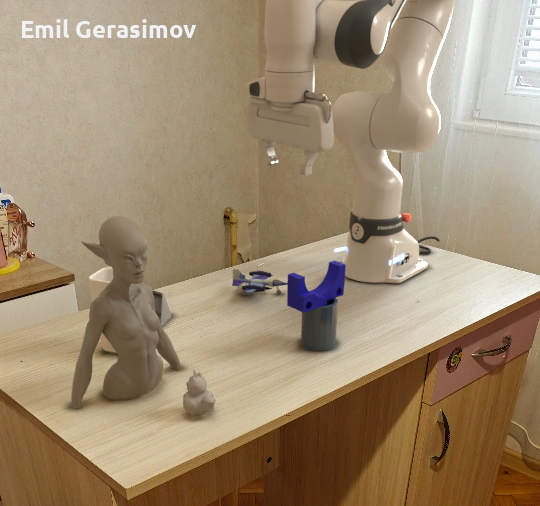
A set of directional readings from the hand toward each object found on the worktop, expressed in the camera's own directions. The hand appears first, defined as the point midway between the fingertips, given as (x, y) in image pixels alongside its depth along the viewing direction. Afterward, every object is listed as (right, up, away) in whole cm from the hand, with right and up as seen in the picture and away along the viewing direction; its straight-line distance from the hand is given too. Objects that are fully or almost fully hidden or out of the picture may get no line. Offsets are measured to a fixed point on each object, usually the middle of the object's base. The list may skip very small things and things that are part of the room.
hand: (289, 170), depth 137 cm
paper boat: (-29, -24, +17) cm, 42 cm away
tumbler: (+6, -32, +6) cm, 33 cm away
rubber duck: (-15, -48, -16) cm, 53 cm away
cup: (-33, -34, +4) cm, 47 cm away
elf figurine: (-27, -44, -11) cm, 52 cm away
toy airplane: (-6, -16, +28) cm, 33 cm away
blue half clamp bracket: (+6, -25, 0) cm, 26 cm away
